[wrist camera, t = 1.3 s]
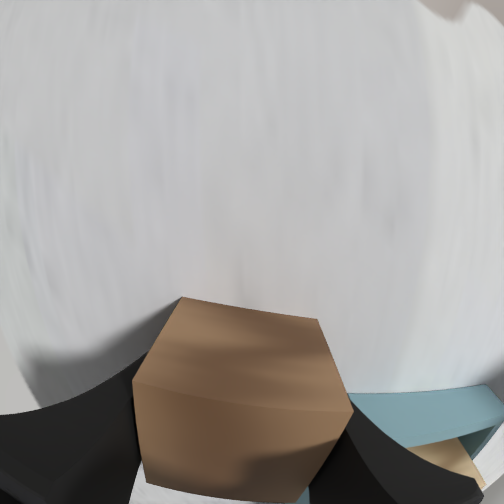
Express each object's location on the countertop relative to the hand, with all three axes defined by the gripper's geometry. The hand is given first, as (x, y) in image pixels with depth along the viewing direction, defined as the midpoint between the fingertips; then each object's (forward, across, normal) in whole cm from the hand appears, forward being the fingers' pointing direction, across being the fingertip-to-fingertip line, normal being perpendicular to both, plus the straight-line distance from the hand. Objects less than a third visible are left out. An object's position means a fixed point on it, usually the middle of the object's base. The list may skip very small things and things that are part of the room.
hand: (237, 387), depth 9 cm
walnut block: (+2, 0, 0) cm, 2 cm away
